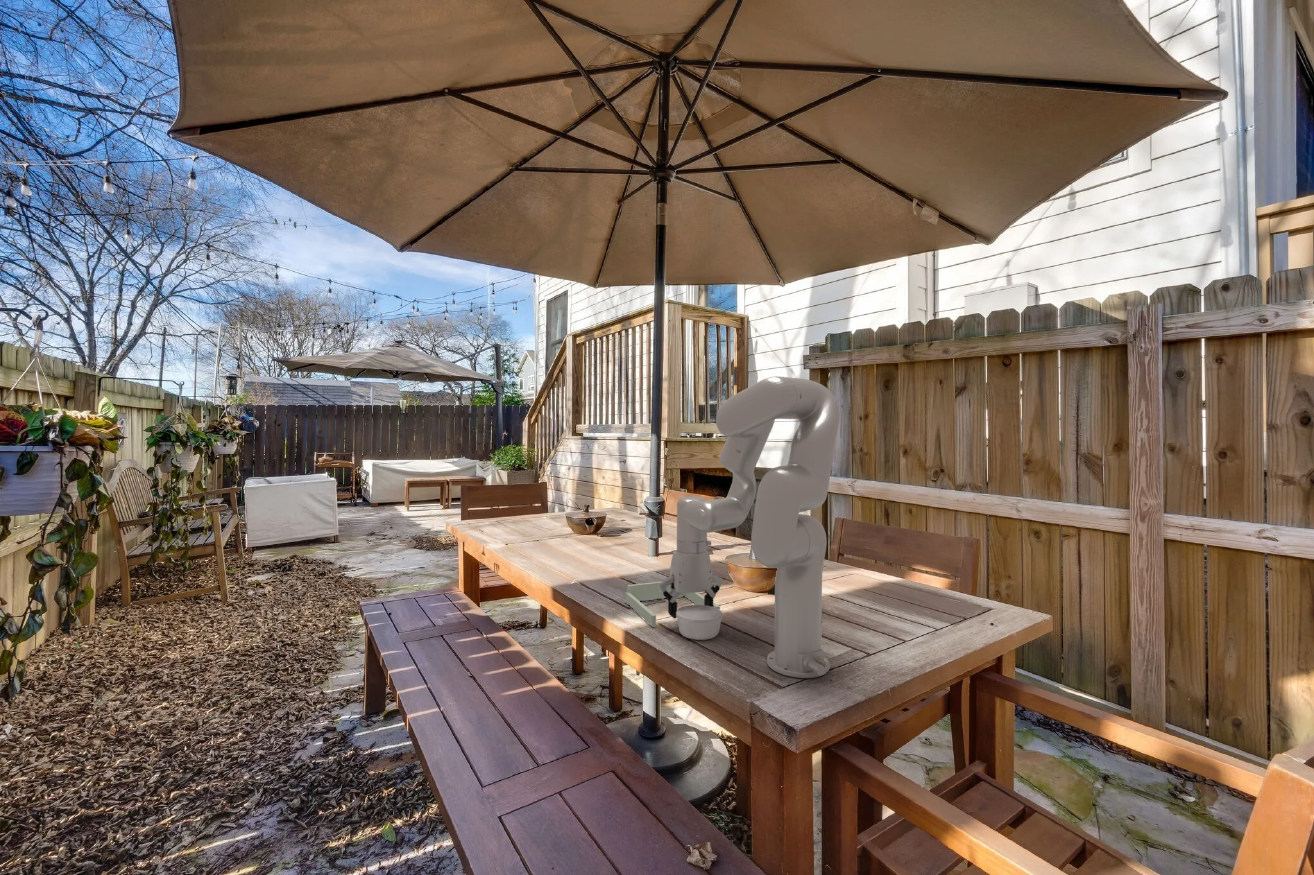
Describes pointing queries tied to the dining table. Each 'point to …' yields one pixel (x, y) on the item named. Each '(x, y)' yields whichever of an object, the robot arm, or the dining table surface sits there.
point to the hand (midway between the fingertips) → (690, 614)
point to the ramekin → (699, 621)
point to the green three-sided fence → (653, 592)
